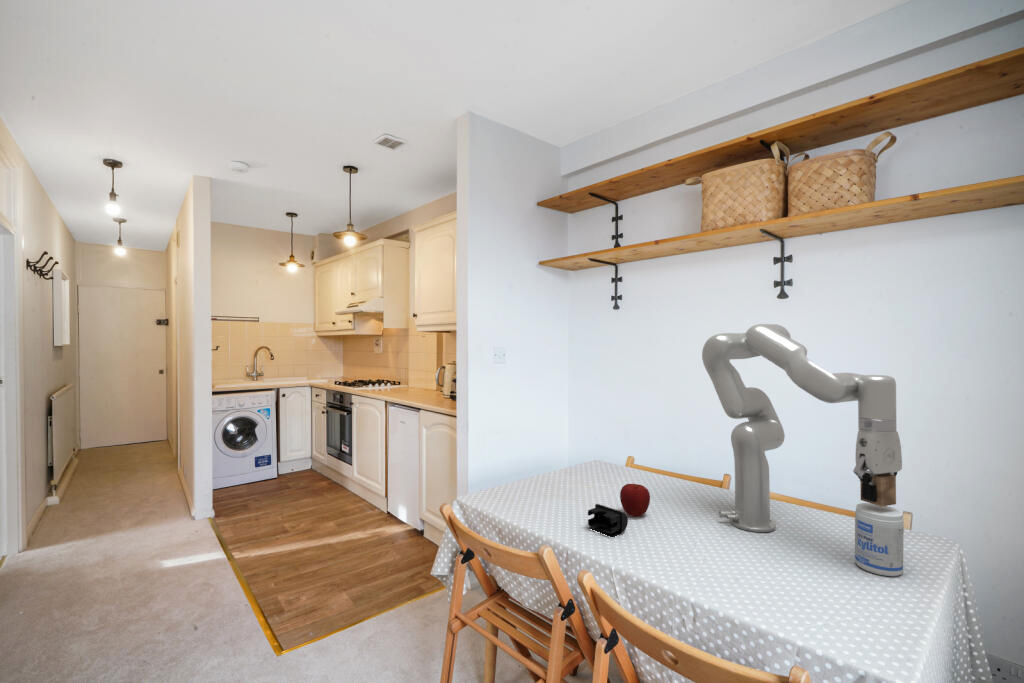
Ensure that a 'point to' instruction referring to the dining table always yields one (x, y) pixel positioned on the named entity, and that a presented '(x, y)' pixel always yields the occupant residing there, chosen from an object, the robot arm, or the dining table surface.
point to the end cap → (607, 520)
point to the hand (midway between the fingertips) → (877, 498)
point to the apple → (635, 499)
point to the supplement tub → (879, 539)
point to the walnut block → (884, 489)
